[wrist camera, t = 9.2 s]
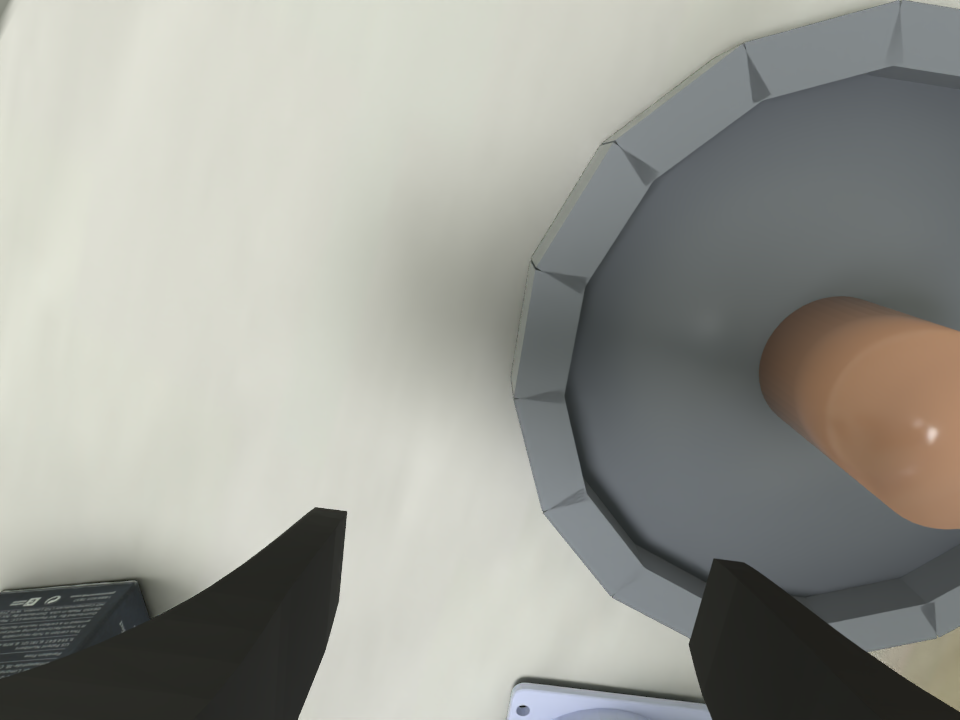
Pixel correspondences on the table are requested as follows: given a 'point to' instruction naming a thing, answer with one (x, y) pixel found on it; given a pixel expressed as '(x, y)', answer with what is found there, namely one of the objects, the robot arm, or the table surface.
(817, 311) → the terracotta rounded cylinder
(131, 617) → the box
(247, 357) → the table surface
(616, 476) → the round tray
